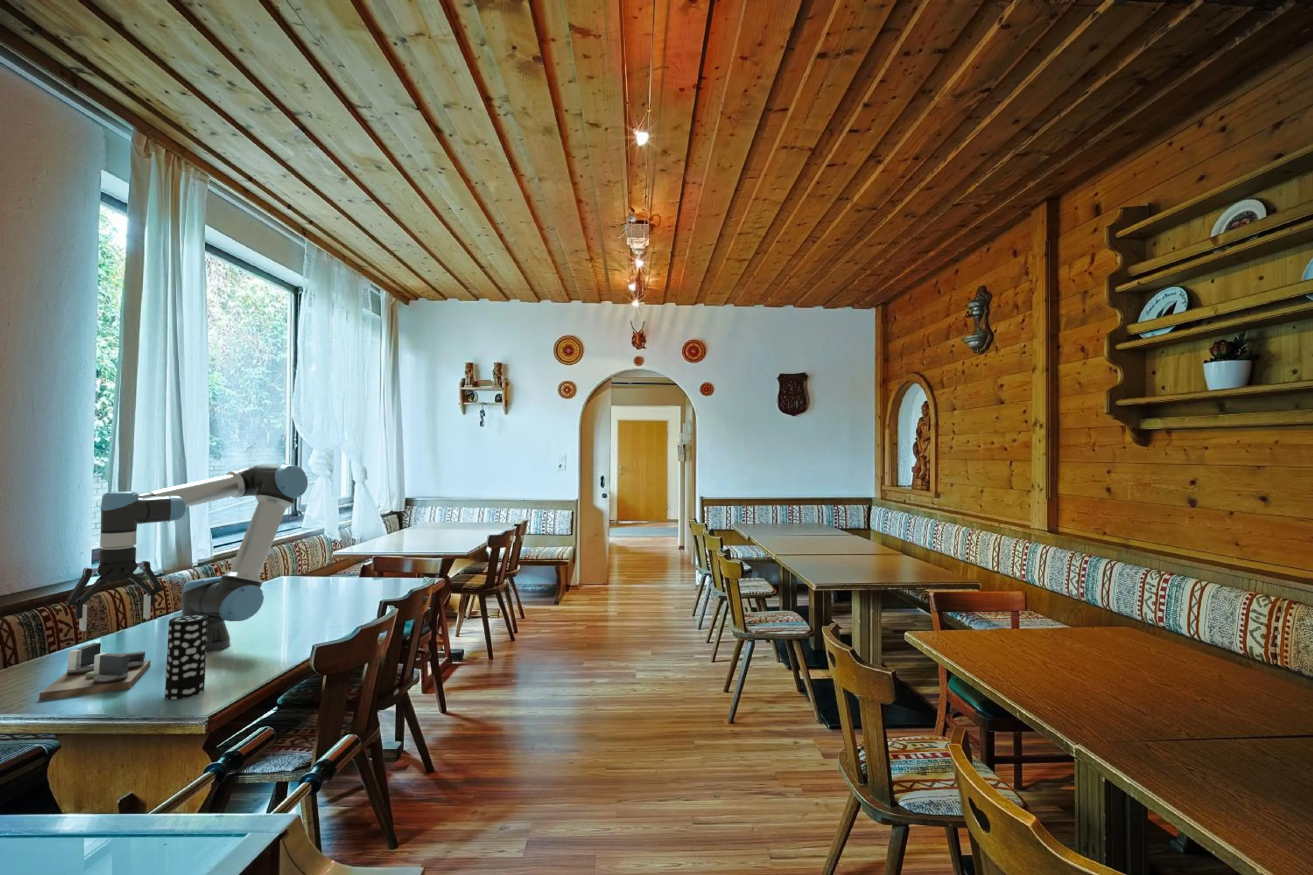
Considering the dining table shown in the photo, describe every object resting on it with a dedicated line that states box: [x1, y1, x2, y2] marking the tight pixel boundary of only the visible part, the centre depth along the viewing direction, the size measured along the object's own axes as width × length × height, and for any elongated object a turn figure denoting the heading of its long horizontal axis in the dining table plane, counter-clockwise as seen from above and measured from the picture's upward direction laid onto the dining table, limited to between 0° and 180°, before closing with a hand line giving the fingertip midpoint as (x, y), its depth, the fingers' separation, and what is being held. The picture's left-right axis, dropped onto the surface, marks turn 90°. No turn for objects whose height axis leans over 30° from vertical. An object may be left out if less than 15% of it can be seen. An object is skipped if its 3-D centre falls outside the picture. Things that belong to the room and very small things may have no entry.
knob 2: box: [93, 652, 129, 683], centre depth 163 cm, size 8×7×6 cm
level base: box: [38, 659, 152, 701], centre depth 167 cm, size 18×20×3 cm
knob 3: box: [124, 650, 146, 669], centre depth 173 cm, size 7×7×4 cm
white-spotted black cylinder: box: [164, 615, 208, 700], centre depth 160 cm, size 8×8×20 cm
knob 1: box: [66, 642, 102, 674], centre depth 170 cm, size 8×7×7 cm
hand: (115, 623), depth 164 cm, fingers open, 13 cm apart
